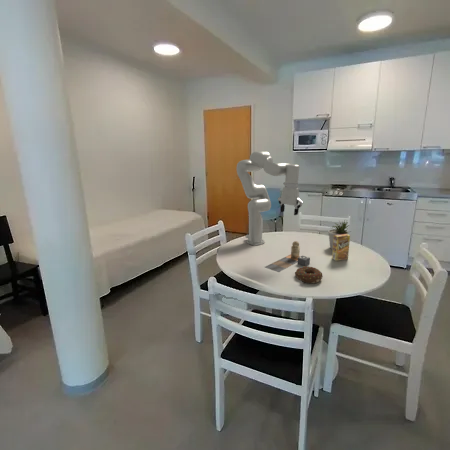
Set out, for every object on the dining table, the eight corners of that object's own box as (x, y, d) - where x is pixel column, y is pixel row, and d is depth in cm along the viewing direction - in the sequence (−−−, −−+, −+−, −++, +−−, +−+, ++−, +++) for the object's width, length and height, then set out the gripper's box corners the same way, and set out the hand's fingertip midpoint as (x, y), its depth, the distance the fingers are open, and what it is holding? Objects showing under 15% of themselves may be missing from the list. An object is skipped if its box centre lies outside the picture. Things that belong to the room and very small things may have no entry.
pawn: (289, 257, 181) (290, 241, 178) (293, 255, 184) (294, 239, 181) (296, 259, 177) (297, 243, 175) (300, 257, 181) (301, 241, 178)
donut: (299, 271, 164) (299, 263, 162) (324, 276, 157) (325, 268, 156) (291, 281, 152) (291, 272, 150) (318, 287, 145) (319, 278, 144)
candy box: (335, 261, 177) (338, 236, 173) (331, 258, 181) (333, 234, 177) (348, 259, 179) (350, 235, 175) (343, 256, 183) (345, 233, 179)
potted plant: (342, 253, 189) (345, 223, 184) (323, 248, 199) (325, 219, 194) (352, 249, 196) (355, 220, 191) (333, 244, 207) (336, 216, 202)
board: (264, 268, 168) (264, 267, 167) (291, 255, 187) (291, 254, 187) (278, 273, 161) (278, 272, 161) (305, 259, 180) (305, 258, 180)
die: (297, 265, 171) (297, 257, 170) (301, 263, 175) (302, 255, 173) (305, 268, 168) (305, 259, 166) (309, 265, 171) (310, 257, 170)
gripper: (275, 184, 178) (273, 211, 184) (300, 188, 167) (298, 217, 172) (282, 183, 183) (280, 209, 189) (307, 186, 172) (304, 214, 177)
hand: (289, 213), depth 180 cm, fingers open, 9 cm apart
